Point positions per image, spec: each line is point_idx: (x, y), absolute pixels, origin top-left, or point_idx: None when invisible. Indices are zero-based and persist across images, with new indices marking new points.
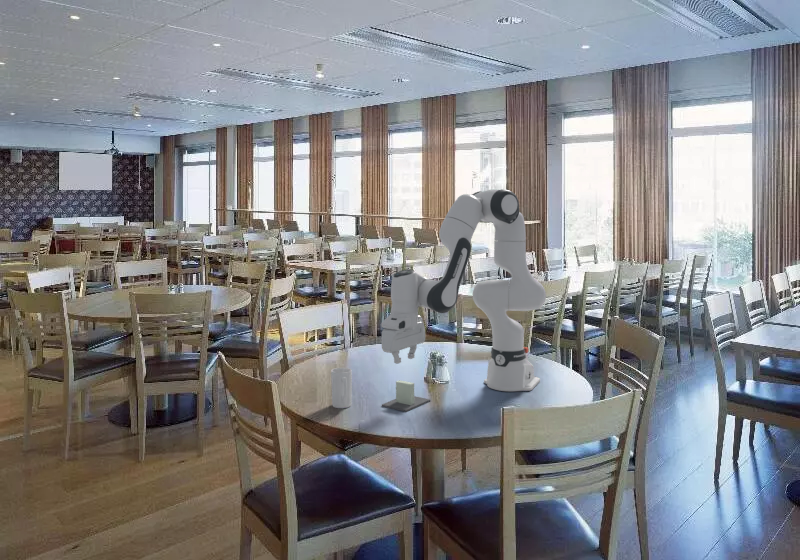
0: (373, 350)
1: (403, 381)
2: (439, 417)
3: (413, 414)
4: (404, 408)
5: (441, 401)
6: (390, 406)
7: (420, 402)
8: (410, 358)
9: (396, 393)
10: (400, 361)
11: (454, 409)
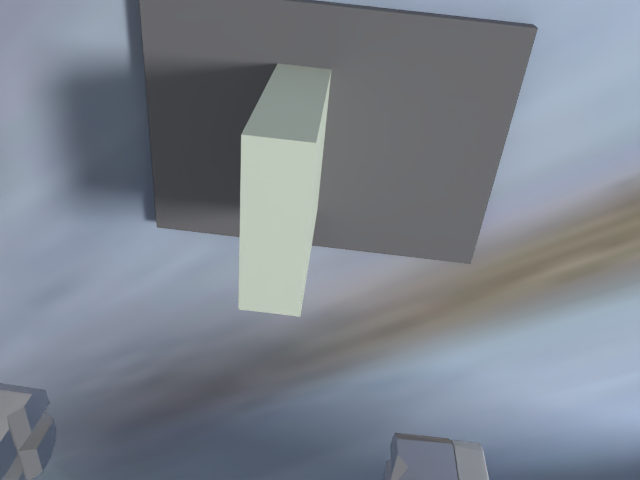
0: None
1: (295, 204)
2: (204, 399)
3: (152, 275)
4: (177, 201)
5: (495, 314)
6: (146, 86)
7: (366, 235)
8: (388, 469)
9: (265, 92)
10: (24, 467)
11: (373, 415)
